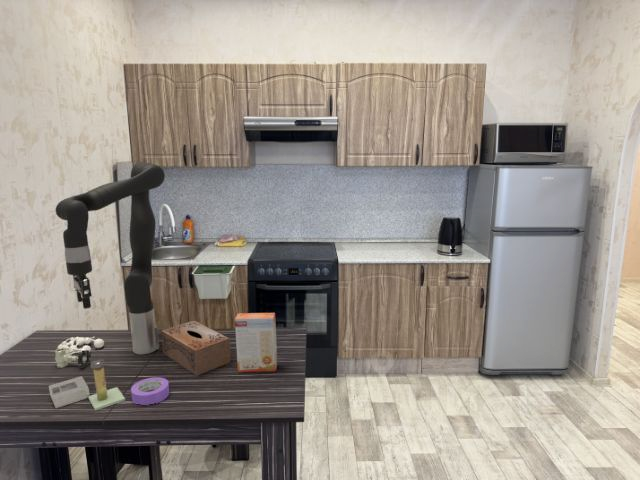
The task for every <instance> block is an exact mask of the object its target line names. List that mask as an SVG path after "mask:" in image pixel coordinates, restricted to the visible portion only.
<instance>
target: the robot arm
mask: <svg viewBox="0 0 640 480" xmlns="http://www.w3.org/2000/svg"><path fill="white" fill-rule="evenodd" d="M163 169H164V168H162V167H161V166H160V165H158V164H155V163H151V162H150V163H149V162H146V161H145V162H144V161H138V162H136V163H135V164H134V165H133V166H132V167H131V171H130V177H129V178H126V179H123V180H117V181H112V182H109V183H105V184H102V185H100V186H96V187H95V188H93V189H90V190H88V191H87V192H84V193H80V194H76V195H72V196H70V197H66V198H63V200H60V201H59V202H58V203H57V205H56V206H55V214H56V215H57V217H58V218H60V219H61V220H62V221H67V222H66V223H67V225H66V226H67V227H66V229H65V230H64V231H63V235H62V237H63V246H64V258H65V265H66V266H65V267H66V273H67V274H68V275H69V276H72V279H73V281H72V282H73V288H74V289H75V292H76V298H77V301H78V303H82V308H83V309H84V310H86V309H90V308H92V307H91V306H92V303H91V297H92V295H93V294H92V289H91V283H90V282H91V281H90V279H89V277H87V274H89V273H91V272H92V271H93V265H92V257H91V250H90V247H89V240H88V239H89V238H88V233H87V231H88V226H89V218H90V217H89V215H90V213H89V212H95V211H99V210H102V209H104V208H106V207H108V206H110V205H112V204H114V203H117V202H119V201H120V200H123V199H126V198H128V197H131V200H130V201H131V202H130V203H131V204H130V222H129V235H128V236H129V242H130V244H129V245H130V250H131V263H130V264H131V265H130V272H129V274H128V275H127V277H126V278H125V280H124V282H123V283H124V286H123V287H124V294H125V302H126V306H127V308H128V314H129V323H130V325H129V326H130V333H131V335H130V336H131V343H132V351H133V353H134V354H136V355H147V354H151V353H153V352H155V351H156V350H159V349H160V344H159V343H160V342H159V332H158V326H157V325H156V318H155V309H154V302H153V300H152V295H151V286H152V283H153V270H152V269H153V265H152V260H153V259H152V258H153V257H152V256H153V251H154V246H155V237H156V227H157V226H156V218H155V213H154V211H153V208H152V206H151V203H150V190H154V189H158V188H159V187H160V186H161V185H163V183H164V181H165V178H166V177H165V176H166V174H165V171H164V170H163Z"/></svg>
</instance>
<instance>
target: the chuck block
mask: <svg viewBox="0 0 640 480" xmlns="http://www.w3.org/2000/svg"><path fill="white" fill-rule="evenodd" d="M48 390H49V396H50V399H51V401H52V403H53V406H54V408H55V409H58V408H62V407H64V406H67V405H71V404H74V403H76V402H79V401H84V400H86V399H89V398H88V396H91V394H90V389H89V386H88V384H87V383H86V381H85V379H84V377H83V376H81V375H80V376H76V377H74V378H70V379H67V380H64V381H61V382H57V383H54V384H53V383H52V384H50V385H48Z"/></svg>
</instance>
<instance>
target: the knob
mask: <svg viewBox="0 0 640 480" xmlns="http://www.w3.org/2000/svg"><path fill="white" fill-rule="evenodd" d="M105 361H106V360H105V359H103V358H102V359H101V358H100V359H95V360H93V361H90V367H91V369H92V371H93V377H94V386H95V391H96V394H97V399H98V400H104V399H106V398H107V397H108V396H107V390H108V389H107V383H106V382H107V381H106V375H105V368H104V367H105V366H106V363H105Z"/></svg>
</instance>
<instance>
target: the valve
mask: <svg viewBox="0 0 640 480" xmlns="http://www.w3.org/2000/svg"><path fill="white" fill-rule="evenodd" d="M66 351H67V350H66V348H56V349H55V350H54V353H55V356H54V358H55V359H54V360H55V361H56V367H57V368H62V369H63V368H65V367H67V366H68V365H69V363H71V362H72V361H73V362H74V361H75V362H77V364H78V365H79V368H87V367H88V363H89V364H91V359H90V358H91V357H92V354H91V353H90V352H89V350H86V351H82V353H81V354H79V355H76V356H75V355H73V354H69V353H66ZM67 354H68V355H67Z"/></svg>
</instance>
